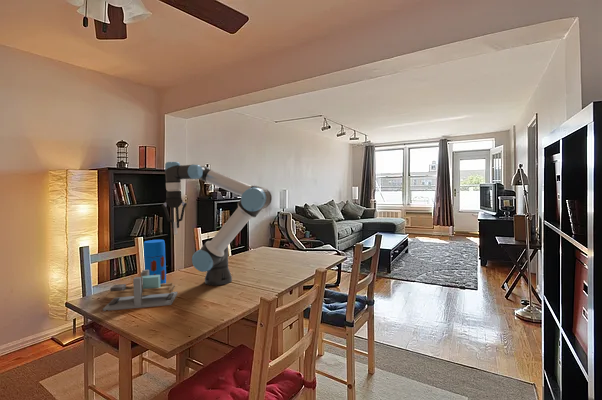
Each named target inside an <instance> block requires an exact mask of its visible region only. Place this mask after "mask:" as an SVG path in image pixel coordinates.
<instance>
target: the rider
mask: <svg viewBox="0 0 602 400" xmlns="http://www.w3.org/2000/svg"><path fill="white" fill-rule="evenodd" d="M142 277H143V289H149V288H160V287H161V283H160V275H149V276H142Z"/></svg>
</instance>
